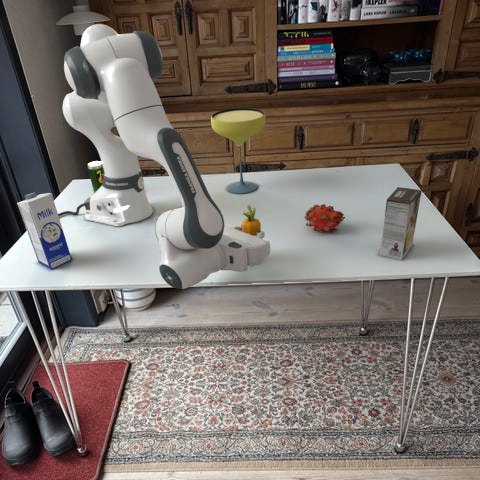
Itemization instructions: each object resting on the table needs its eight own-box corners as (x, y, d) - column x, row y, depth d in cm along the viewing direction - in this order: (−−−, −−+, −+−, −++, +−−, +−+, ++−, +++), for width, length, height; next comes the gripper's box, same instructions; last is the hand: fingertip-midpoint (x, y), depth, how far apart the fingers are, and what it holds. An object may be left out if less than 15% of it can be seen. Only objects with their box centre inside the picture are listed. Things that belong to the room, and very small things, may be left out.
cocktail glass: (271, 194, 165) (270, 118, 150) (220, 200, 163) (213, 124, 148) (261, 176, 179) (259, 105, 164) (214, 181, 178) (208, 110, 163)
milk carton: (50, 270, 132) (27, 201, 120) (37, 262, 135) (13, 195, 123) (72, 259, 136) (52, 192, 124) (59, 252, 140) (38, 187, 127)
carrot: (260, 263, 128) (258, 211, 119) (242, 262, 129) (238, 210, 120) (263, 254, 132) (261, 203, 123) (245, 253, 133) (242, 202, 124)
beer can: (92, 198, 171) (83, 165, 164) (100, 193, 175) (92, 160, 168) (105, 200, 170) (97, 166, 162) (112, 194, 174) (105, 161, 166)
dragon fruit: (300, 233, 144) (339, 237, 144) (305, 228, 135) (346, 233, 136) (303, 205, 144) (342, 209, 144) (308, 198, 135) (349, 203, 135)
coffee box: (389, 240, 134) (397, 185, 124) (412, 245, 131) (422, 189, 121) (378, 255, 128) (386, 198, 118) (402, 260, 125) (412, 203, 115)
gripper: (190, 249, 126) (226, 230, 134) (248, 274, 115) (283, 252, 122) (187, 228, 122) (224, 209, 130) (247, 251, 111) (283, 229, 119)
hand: (254, 230), depth 126 cm, fingers closed on carrot, 5 cm apart
